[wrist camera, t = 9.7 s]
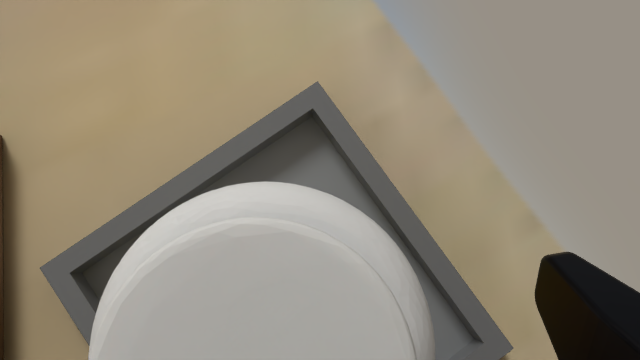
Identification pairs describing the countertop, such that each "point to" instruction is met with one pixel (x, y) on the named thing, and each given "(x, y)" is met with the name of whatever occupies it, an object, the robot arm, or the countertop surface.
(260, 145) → the square tray
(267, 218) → the supplement bottle
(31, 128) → the countertop surface
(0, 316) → the strip
